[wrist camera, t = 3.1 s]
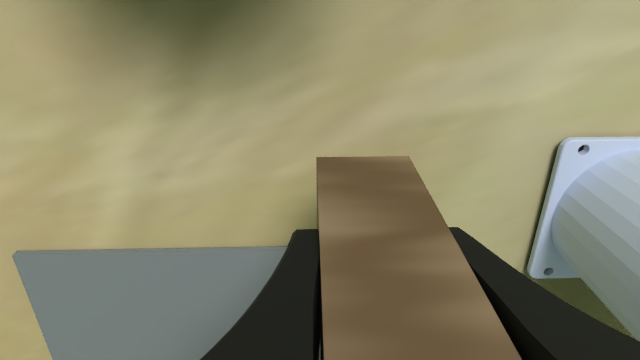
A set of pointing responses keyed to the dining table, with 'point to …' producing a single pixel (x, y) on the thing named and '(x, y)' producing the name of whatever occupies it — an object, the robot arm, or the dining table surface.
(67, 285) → the mat
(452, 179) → the dining table surface
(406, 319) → the block
